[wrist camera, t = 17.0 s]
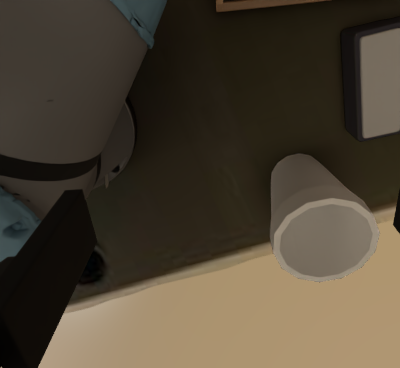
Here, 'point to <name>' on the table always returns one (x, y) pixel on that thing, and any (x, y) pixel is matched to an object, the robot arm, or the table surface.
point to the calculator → (372, 79)
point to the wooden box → (256, 4)
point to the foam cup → (318, 222)
